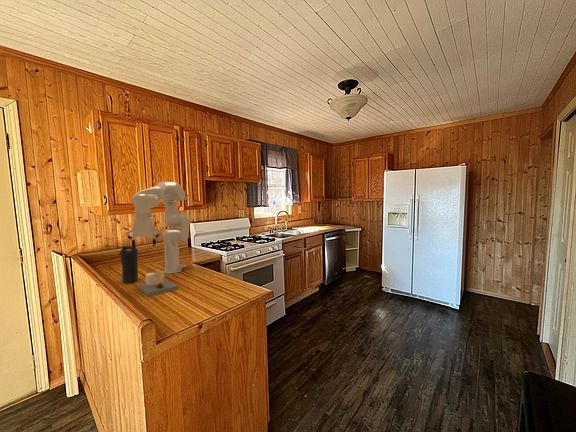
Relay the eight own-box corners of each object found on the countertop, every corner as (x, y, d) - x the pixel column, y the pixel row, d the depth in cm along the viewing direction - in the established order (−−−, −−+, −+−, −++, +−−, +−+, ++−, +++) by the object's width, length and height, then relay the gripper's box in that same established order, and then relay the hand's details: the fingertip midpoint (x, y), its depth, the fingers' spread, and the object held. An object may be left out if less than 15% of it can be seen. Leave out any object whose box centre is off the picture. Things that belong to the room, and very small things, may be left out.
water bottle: (123, 280, 168) (121, 245, 166) (140, 278, 171) (139, 244, 170) (119, 285, 158) (117, 248, 157) (137, 282, 162) (136, 246, 160)
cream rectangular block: (159, 280, 159) (159, 271, 159) (163, 282, 155) (162, 273, 155) (145, 283, 154) (145, 273, 153) (148, 286, 149) (148, 275, 149)
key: (156, 282, 155) (156, 267, 154) (164, 287, 145) (164, 271, 144) (152, 283, 153) (151, 268, 153) (160, 289, 143) (159, 272, 142)
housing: (165, 281, 164) (165, 278, 163) (177, 289, 149) (177, 285, 149) (137, 287, 152) (137, 284, 152) (147, 296, 138) (147, 292, 138)
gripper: (160, 215, 150) (161, 244, 151) (125, 216, 142) (127, 247, 143) (160, 215, 143) (161, 246, 144) (123, 217, 136) (125, 249, 136)
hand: (144, 246), depth 143 cm, fingers open, 9 cm apart
